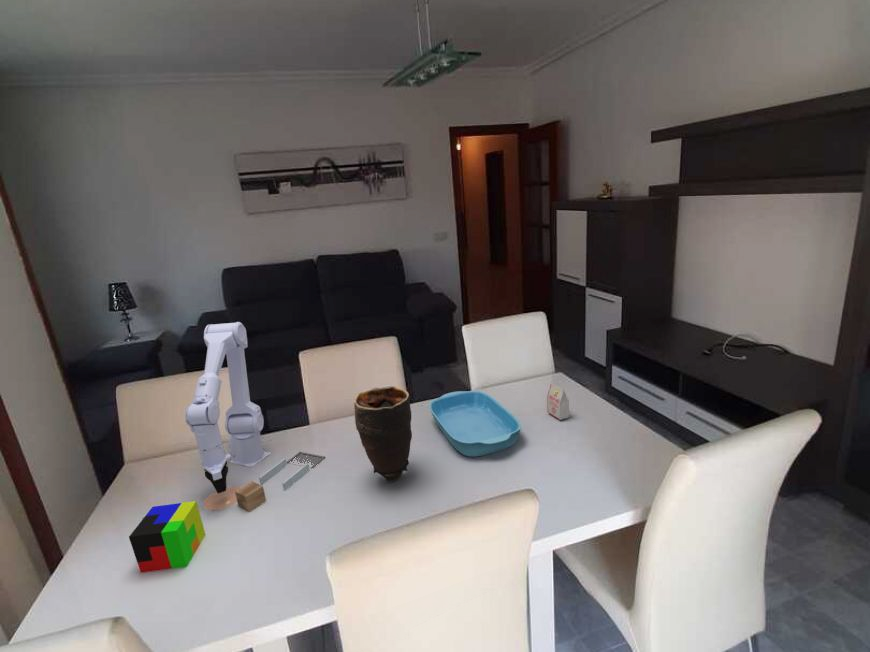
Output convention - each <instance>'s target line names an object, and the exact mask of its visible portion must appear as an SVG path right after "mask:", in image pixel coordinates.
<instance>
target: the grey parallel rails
mask: <svg viewBox="0 0 870 652" xmlns="http://www.w3.org/2000/svg"><path fill="white" fill-rule="evenodd" d="M287 464H288V463H287V459H286V458H283V459H281V460H280V461H278V462H277V463H276V464H275V465H273V466H272V467H271V468H270V469H268V470H267V471H266V472H264V473H263V474H261V475H260V476H259V477H258V479H259V480H258V481H259V485H260V484H261V486H263V485H264V484H265V483H267V482H268V481H269V480H271V479H272V478H273V477H274V476H275V475H277V474H278V473H279V472H281V471H282V470H283V469H285V468H286V467H287V466H286V465H287ZM285 466H286V467H285ZM281 469H282V470H281ZM280 470H281V471H280ZM307 471H308V472H309V471H310V467H309V465H308V463H306V464H305V465H304V466H301V467H300V468H298V470H296V472H294V473H293V474H292V475H290V476H289V477H288V478H287V479H285V481H283V482H282V488H283V491H285V490H286V489H287V488H288V487H289V486H290V487H292V486H293V485H294V484H295V483H296V482H298V481H299V480H300V479H301V478H302V477H304V476H305V475H306V474H307V473H308V472H307ZM306 472H307V473H306ZM276 473H277V474H276ZM305 473H306V474H305ZM304 474H305V475H304ZM272 476H273V477H272ZM271 477H272V478H271ZM300 477H301V478H300ZM299 478H300V479H299ZM298 479H299V480H298ZM267 480H268V481H267ZM294 482H295V483H294ZM293 483H294V484H293ZM262 484H263V485H262ZM292 484H293V485H292ZM290 487H289V488H290ZM289 488H288V489H289ZM288 489H287V490H288ZM287 490H286V491H287Z"/></svg>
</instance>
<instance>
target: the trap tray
mask: <svg viewBox="0 0 870 652" xmlns="http://www.w3.org/2000/svg"><path fill="white" fill-rule="evenodd" d="M301 454H303V455H301ZM307 455H308V456H307ZM306 456H307V457H306ZM295 457H296V458H295ZM317 457H318V458H317ZM294 458H295V459H296V460H297V462H298V460H299V462H300V463H303V462H304V464H305V462H306V461H307V463H309V462H311V465H313V464H314V465H313V466H312V467H311V468H310V469H312V468H313V469H314V468H315V467H317V466H318V465H319V464H320V463H322V462H323V461H324V460H325V459H326V456H323V455H319V454H315V453H314V454H313V453H308V452H302V451H299V452H297V453H296V454H295V455H294V456H292V457H290V459H288V460H286V464H290V463H289V462H290V461H291V462H292V461H293V459H294ZM297 458H298V459H297ZM299 458H300V459H299ZM303 459H304V460H305V461H304V460H303ZM307 459H308V460H307ZM310 460H311V461H310ZM322 460H323V461H322ZM294 461H295V460H294ZM302 461H303V462H302ZM308 461H309V462H308ZM293 463H294V462H293ZM312 463H313V464H312ZM298 464H299V463H298ZM317 464H318V465H317ZM316 465H317V466H316Z"/></svg>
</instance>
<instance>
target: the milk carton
mask: <svg viewBox="0 0 870 652" xmlns="http://www.w3.org/2000/svg"><path fill="white" fill-rule="evenodd" d="M546 402H547V403H546V405H547V406H546V409H547V411H546V412H547V413H548V414H550V415H551V416H553V417H554V418H556V419H558V420H559V421H561V420H565V419H568V418H570V400H569V398H568V396H567V394H566V392H565V389H562V388H561V387H559V386H557V385H556V384H554V383H550V386H549V388H548V392H547V394H546Z"/></svg>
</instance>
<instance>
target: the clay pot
mask: <svg viewBox="0 0 870 652" xmlns="http://www.w3.org/2000/svg"><path fill="white" fill-rule="evenodd" d="M353 400H354V401H353V403H354V421H355V422H354V424H355V429H356V430H357V432H358V435H359V437H360V438H359V439H360V442H361V445H362V447H363V448H364V450H365V454H366V456H367V458H368V460H369V462H370V463H371V465H372V467H373V473H374V474H375V473H377V474H379V475H380V476H381V477H382V478H384V479H385V480H386V481H387V482H394V481H396V480H398V479H399V478H400V477H401V475H403V473H404V472H408V466H409V464H410V462H409V457H410V451H411V450H410V449H411V442H412V437H413V431H412V428H411V427H412V409H411V401H410V400H411V399H410V394H409V392H408V391H407V390H406V389H404V388H403V387H399V386H396V385H395V384H388V385H387V384H386V385H380V386H379V385H378V386H375V387H372V388H368V389H364V390H361V391H359V393H357V395H356V396H355V397H354V399H353Z"/></svg>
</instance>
